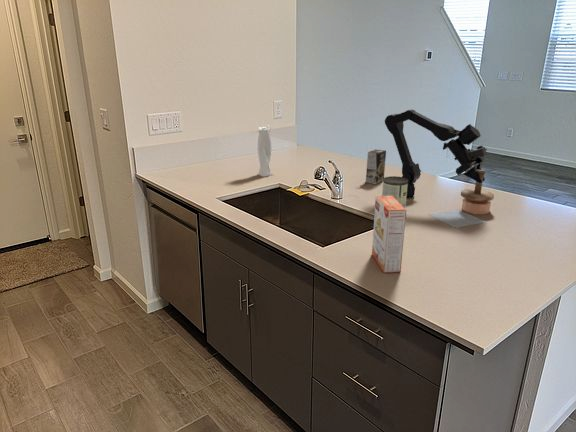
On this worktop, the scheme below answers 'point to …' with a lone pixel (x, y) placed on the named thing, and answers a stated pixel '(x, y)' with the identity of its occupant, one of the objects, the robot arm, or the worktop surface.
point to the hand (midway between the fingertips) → (482, 181)
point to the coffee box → (375, 166)
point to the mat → (457, 218)
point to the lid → (478, 190)
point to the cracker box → (388, 233)
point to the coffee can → (396, 188)
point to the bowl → (476, 206)
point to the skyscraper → (264, 151)
